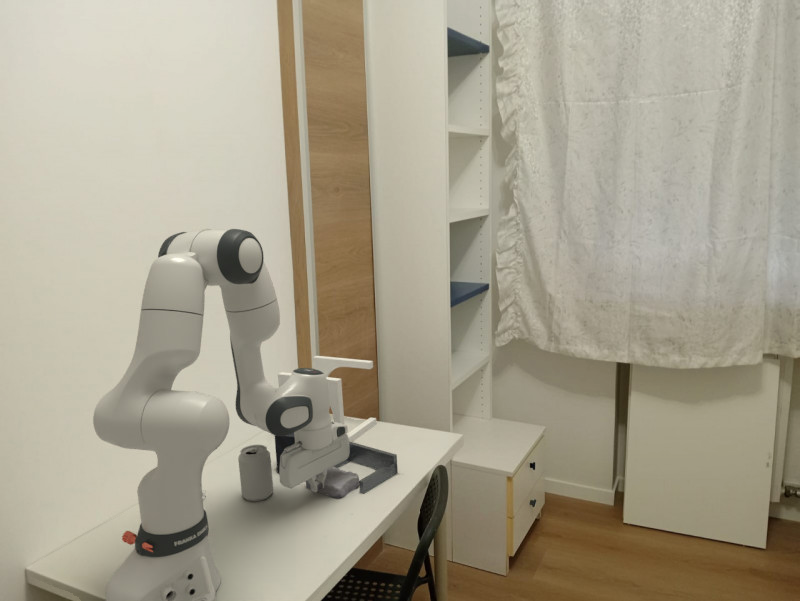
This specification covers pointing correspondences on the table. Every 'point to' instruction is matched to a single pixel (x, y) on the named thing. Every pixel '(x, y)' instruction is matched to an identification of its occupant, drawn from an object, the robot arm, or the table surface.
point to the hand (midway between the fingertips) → (317, 489)
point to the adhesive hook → (203, 494)
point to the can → (255, 472)
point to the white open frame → (338, 388)
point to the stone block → (338, 482)
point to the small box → (282, 446)
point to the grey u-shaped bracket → (372, 464)
